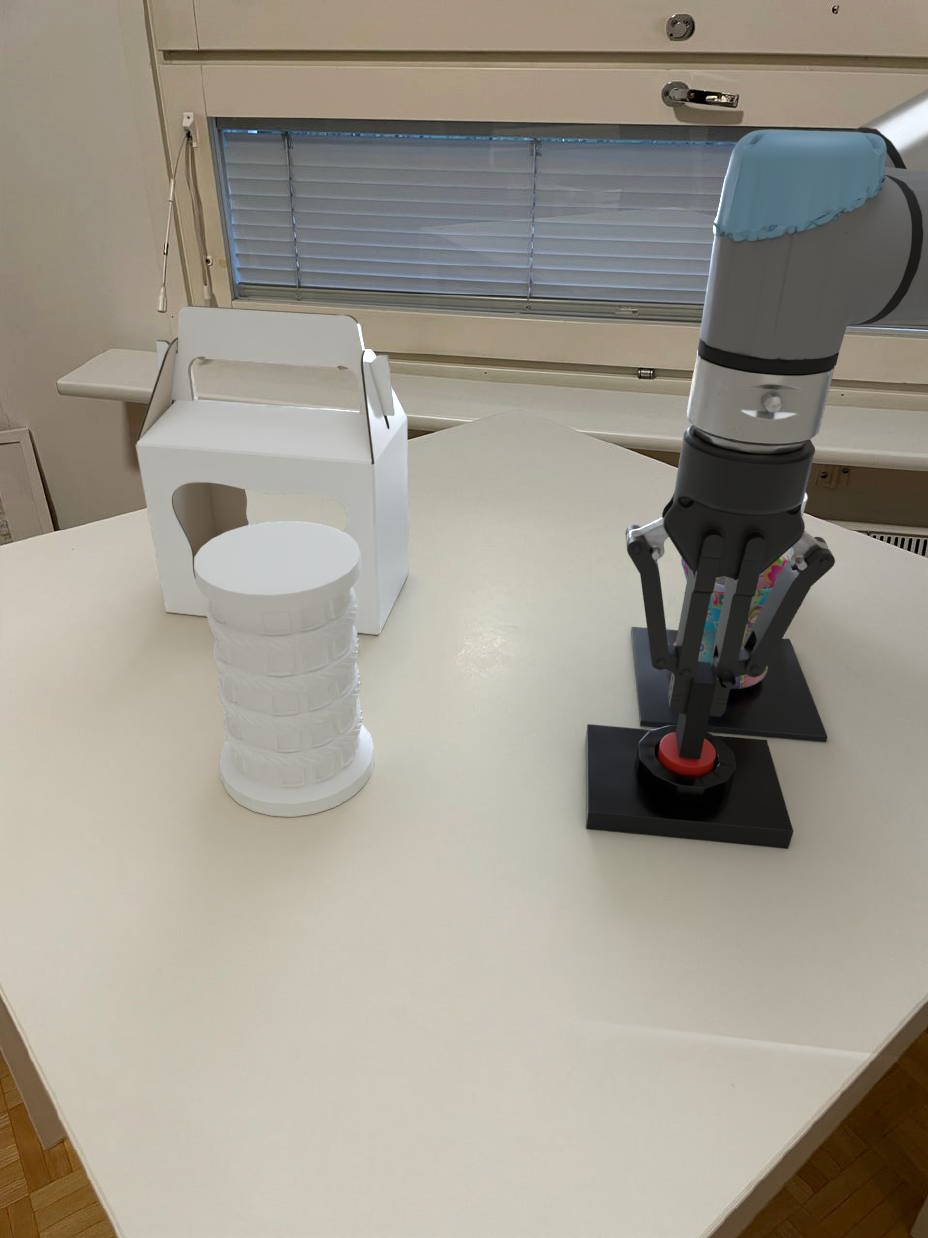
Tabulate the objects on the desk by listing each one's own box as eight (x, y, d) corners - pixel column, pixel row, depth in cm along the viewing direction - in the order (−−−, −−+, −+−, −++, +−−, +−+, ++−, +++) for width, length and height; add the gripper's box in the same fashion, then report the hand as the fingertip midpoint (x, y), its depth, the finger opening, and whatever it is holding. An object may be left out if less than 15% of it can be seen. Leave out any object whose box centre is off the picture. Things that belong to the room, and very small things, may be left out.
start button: (708, 752, 66) (712, 734, 65) (715, 788, 62) (719, 769, 61) (654, 747, 66) (657, 729, 65) (658, 783, 63) (662, 764, 62)
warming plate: (788, 643, 83) (790, 638, 83) (826, 742, 71) (828, 736, 70) (630, 631, 85) (631, 626, 84) (639, 726, 72) (640, 720, 72)
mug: (648, 645, 82) (664, 543, 76) (740, 636, 83) (762, 536, 78) (702, 723, 71) (725, 612, 66) (805, 712, 73) (836, 603, 68)
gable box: (411, 572, 94) (408, 302, 80) (382, 636, 83) (372, 335, 68) (216, 553, 97) (179, 289, 82) (162, 613, 86) (108, 319, 71)
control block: (762, 756, 69) (771, 721, 67) (788, 849, 61) (799, 812, 59) (585, 740, 70) (589, 705, 68) (586, 829, 62) (590, 792, 60)
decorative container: (400, 741, 70) (396, 537, 60) (322, 837, 60) (304, 614, 51) (278, 703, 74) (257, 507, 64) (188, 788, 64) (148, 573, 55)
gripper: (641, 446, 48) (598, 772, 61) (884, 461, 47) (790, 789, 59) (634, 405, 55) (596, 707, 67) (847, 418, 54) (769, 722, 66)
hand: (687, 746), depth 63 cm, fingers closed
